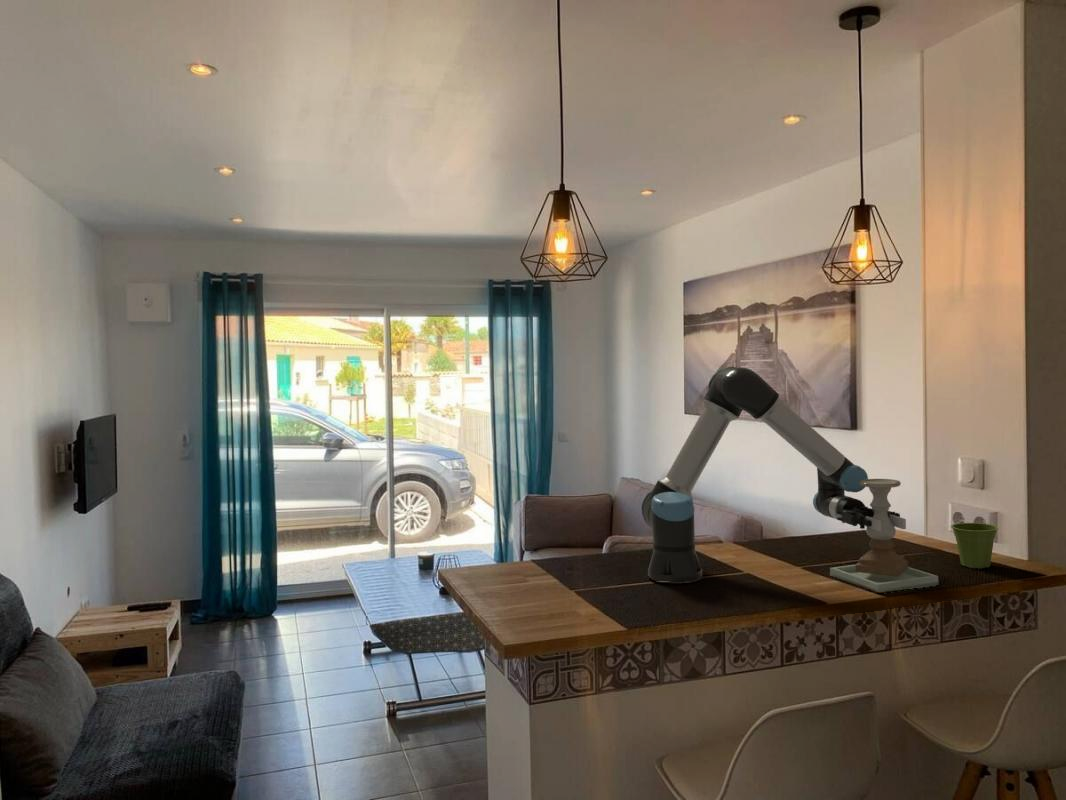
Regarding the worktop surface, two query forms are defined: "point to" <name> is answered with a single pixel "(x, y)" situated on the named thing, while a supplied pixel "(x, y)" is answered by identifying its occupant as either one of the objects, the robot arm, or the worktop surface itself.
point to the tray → (885, 579)
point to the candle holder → (881, 534)
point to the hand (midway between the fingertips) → (892, 525)
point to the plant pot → (975, 543)
